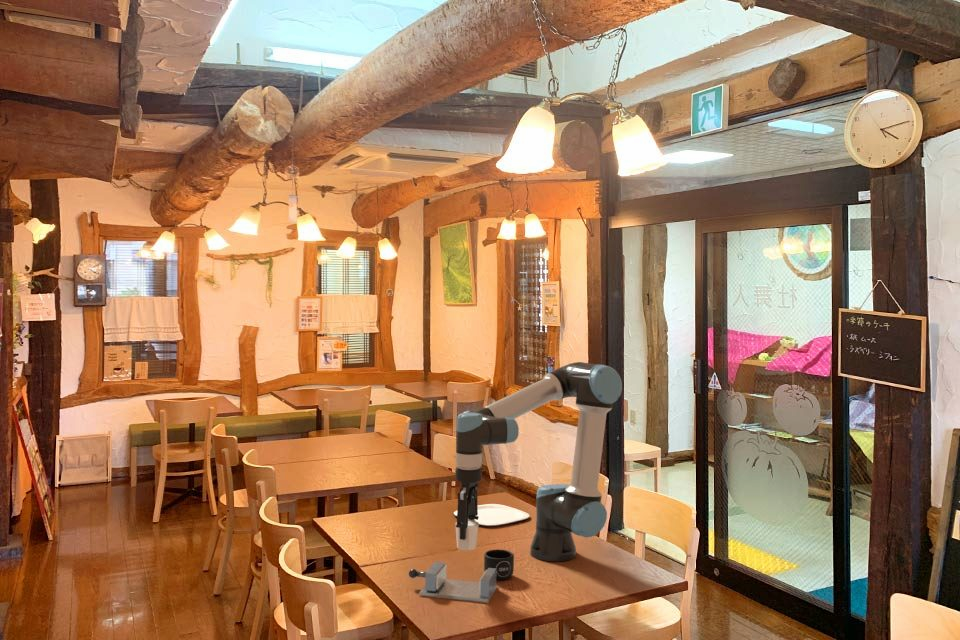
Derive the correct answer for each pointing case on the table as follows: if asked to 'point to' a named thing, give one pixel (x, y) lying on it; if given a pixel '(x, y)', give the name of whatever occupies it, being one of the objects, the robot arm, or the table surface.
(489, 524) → the plate
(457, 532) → the white cylinder
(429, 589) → the jaw
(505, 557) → the mug
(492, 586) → the vise
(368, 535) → the table surface
